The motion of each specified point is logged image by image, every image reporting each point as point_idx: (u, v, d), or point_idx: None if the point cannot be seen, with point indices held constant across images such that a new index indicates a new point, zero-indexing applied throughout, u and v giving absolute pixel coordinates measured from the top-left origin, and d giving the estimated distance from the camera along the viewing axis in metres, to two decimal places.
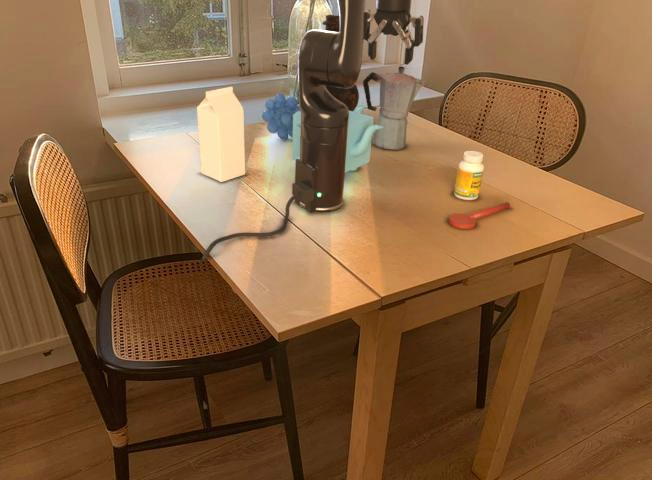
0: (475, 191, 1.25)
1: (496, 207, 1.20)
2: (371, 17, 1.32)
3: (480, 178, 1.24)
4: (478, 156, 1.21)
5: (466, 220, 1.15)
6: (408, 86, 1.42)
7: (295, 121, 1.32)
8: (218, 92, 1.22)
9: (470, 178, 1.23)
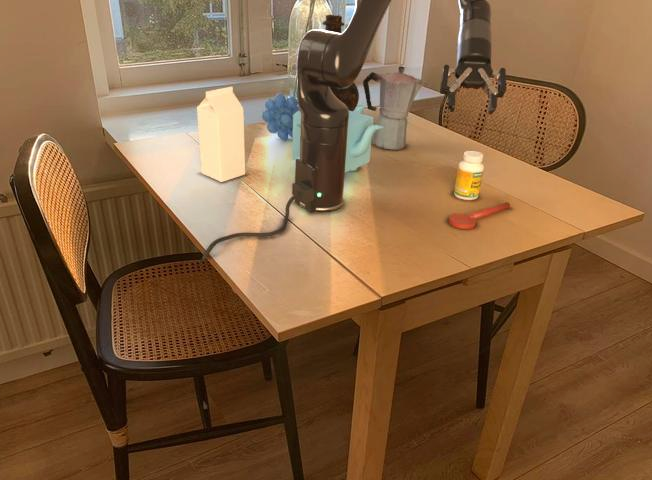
0: (475, 191, 1.25)
1: (496, 207, 1.20)
2: (451, 71, 1.31)
3: (480, 178, 1.24)
4: (478, 156, 1.21)
5: (466, 220, 1.15)
6: (409, 86, 1.42)
7: (295, 121, 1.32)
8: (218, 92, 1.22)
9: (470, 178, 1.23)
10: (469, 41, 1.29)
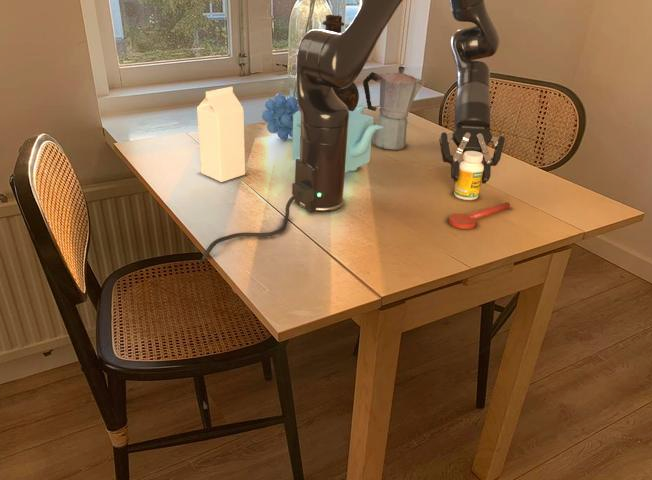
0: (475, 191, 1.25)
1: (496, 207, 1.20)
2: (449, 137, 1.26)
3: (480, 178, 1.24)
4: (478, 156, 1.21)
5: (466, 220, 1.15)
6: (409, 86, 1.42)
7: (295, 121, 1.32)
8: (218, 92, 1.22)
9: (470, 178, 1.23)
10: (467, 105, 1.24)
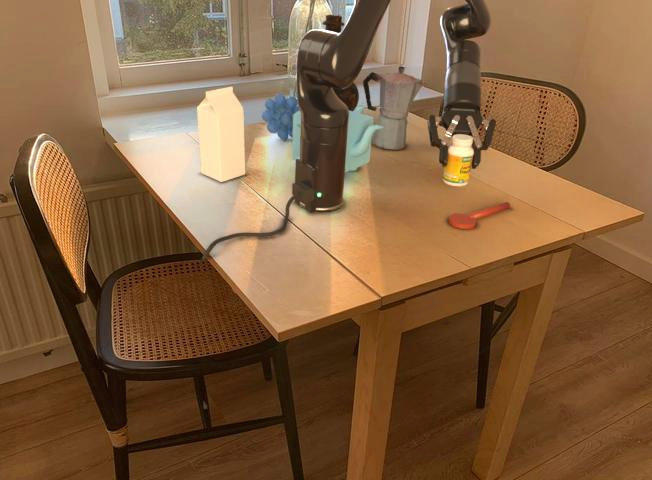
0: (465, 177, 1.19)
1: (496, 207, 1.20)
2: (438, 120, 1.20)
3: (470, 163, 1.18)
4: (468, 139, 1.15)
5: (466, 220, 1.15)
6: (409, 86, 1.42)
7: (295, 121, 1.32)
8: (218, 92, 1.22)
9: (459, 162, 1.17)
10: (457, 86, 1.18)
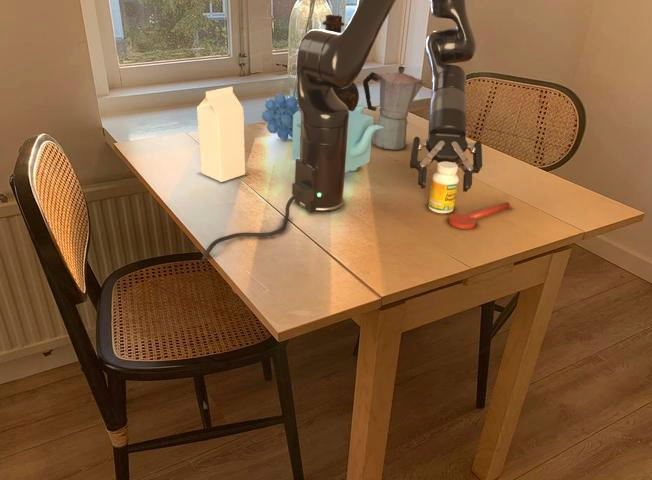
0: (450, 204, 1.19)
1: (496, 207, 1.20)
2: (422, 143, 1.19)
3: (455, 190, 1.17)
4: (453, 167, 1.15)
5: (466, 220, 1.15)
6: (409, 86, 1.42)
7: (295, 121, 1.32)
8: (218, 92, 1.22)
9: (444, 190, 1.17)
10: (441, 112, 1.18)
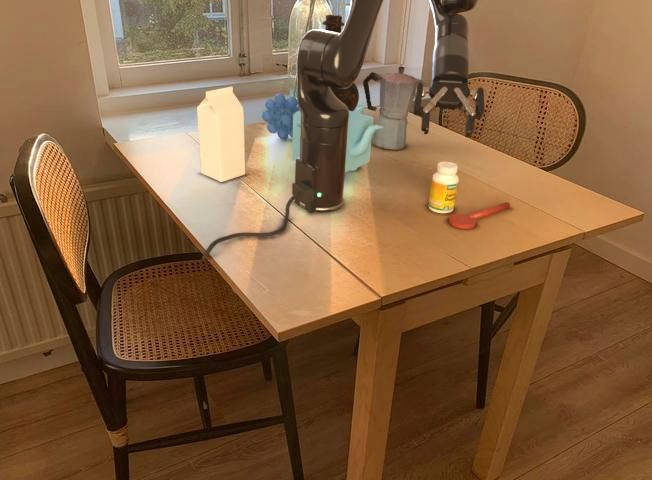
0: (450, 204, 1.19)
1: (496, 207, 1.20)
2: (425, 90, 1.21)
3: (455, 190, 1.17)
4: (453, 167, 1.15)
5: (466, 220, 1.15)
6: (409, 86, 1.42)
7: (295, 121, 1.32)
8: (218, 92, 1.22)
9: (444, 190, 1.17)
10: (444, 58, 1.20)
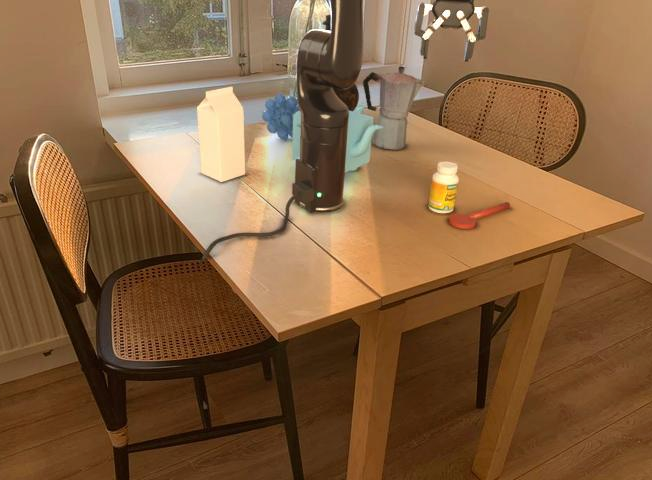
0: (450, 204, 1.19)
1: (496, 207, 1.20)
2: (428, 9, 1.16)
3: (455, 190, 1.17)
4: (453, 167, 1.15)
5: (466, 220, 1.15)
6: (409, 86, 1.42)
7: (295, 121, 1.32)
8: (218, 92, 1.22)
9: (444, 190, 1.17)
10: None
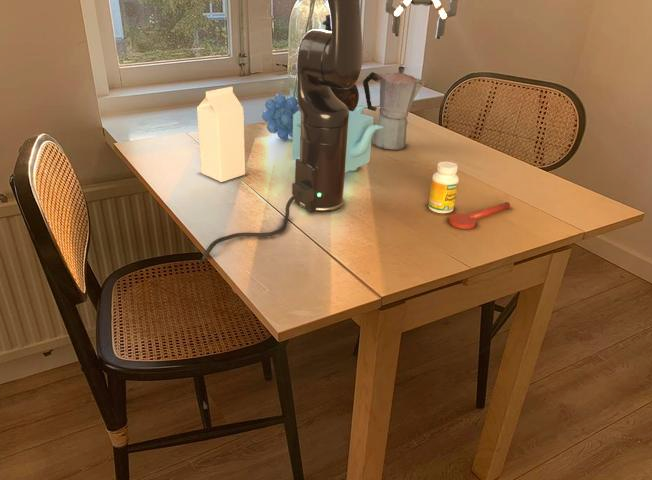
0: (450, 204, 1.19)
1: (496, 207, 1.20)
2: None
3: (455, 190, 1.17)
4: (453, 167, 1.15)
5: (466, 220, 1.15)
6: (409, 86, 1.42)
7: (295, 121, 1.32)
8: (218, 92, 1.22)
9: (444, 190, 1.17)
10: None
